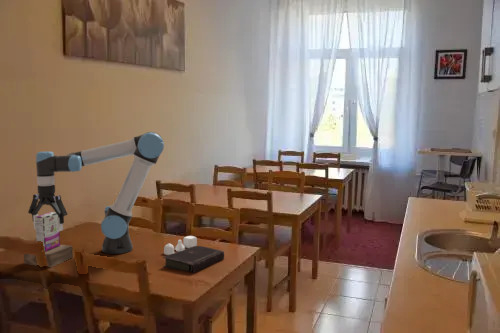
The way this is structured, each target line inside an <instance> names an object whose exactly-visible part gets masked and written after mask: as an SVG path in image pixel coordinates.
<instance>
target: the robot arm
mask: <svg viewBox="0 0 500 333" xmlns="http://www.w3.org/2000/svg"><path fill="white" fill-rule="evenodd" d="M164 148H165V143H164V139H163V138H162V136H161V135H160V134H158V132H154V131H148V132H145V133H143V134H140V135H138V136H133V137H132V139H128V140H125V141H124V140H123V141H120V142H115V143H111V144H107V145H102V146H98V147H93V148H90V149H89V148H88V149H85V150H81V151H77V152H70V153H67V155H55V153H54V152H53V151H49V150H48V151H39V152H37V153H36V155H35V156H36V157H35V158H36V160H35V163H36V164H35V165H36V182H37V193H36V194H33V195H32V201H31V203H30V206H29V209H28V210H27V211H28V212H27V213H28V214H29V215H31V216H32V217H31V218H32V219H31V220H32V222H33V230H36V225H35V217H37V216H40V215H39V212H40V210H41V209H42V207H43V205H46V206H50V207H51V208H52V209H53V212H56V213H57V215H58V217H57V224H58V231H61V232H62V231H63V230H64V226H63V225H64V222H65V219H64V218H65V216H68V212H67V210H66V207H65V205H64V202H63V201H62V196H61V195H59V194H58V195H55V193H56V185H55V183H56V182H55V181H56V180H55V179H56V178H55V173H59V172H60V173H61V172H62V173H64V172H66V173H67V172H68V173H69V172H72V173H75V172H80V171H81V170H82V167H86V166H90V165H95V164H99V163H102V162H103V163H104V162H108V161H112V160H116V159H120V158H125V157H129V156H133V158H134V160H133V161H132V164H131V166H130V168H129V170H128V172H127V175H126V176H125V179H124V181H123V184H122V186H121V188H120V191H119V193H118V194H117V197H116V199H115V202H114V203H113V204H111V205H109V206H105V207H104V218H103V220H102V221H101V223H100V227H101V233H103V235H104V239H103V242H102V246H101V251H102V252H103V253H105V254H110V255H116V254H117V255H119V254H125V253H126V254H127V253H129V252H131V251H132V250H133V242H132V239H131V237H130V229H129V226H130V225H129V223H130V222H131V220H132V217H133V213H132V209H133V208H134V206H135V205H134V204H135V203H136V200H137V198H138V197H139V194H140V192H141V190H142V187H143V186H144V183H145V181H146V178H147V177H148V174H149V173H150V170H151V168H152V166H154V165H157V162H158V159H159V158H160V156H161V154H162V153H163V151H164Z"/></svg>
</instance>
